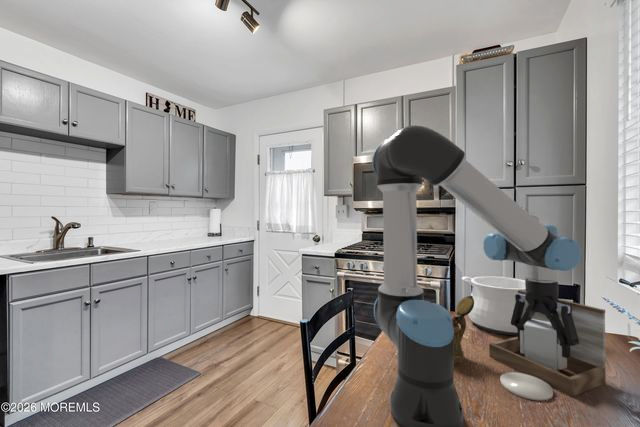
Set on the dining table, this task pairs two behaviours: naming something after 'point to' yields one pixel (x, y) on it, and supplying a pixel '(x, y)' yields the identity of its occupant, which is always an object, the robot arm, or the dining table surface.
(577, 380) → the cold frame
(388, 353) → the dining table surface
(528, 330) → the supplement box
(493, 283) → the pot
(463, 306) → the wooden mug
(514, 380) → the saucer
